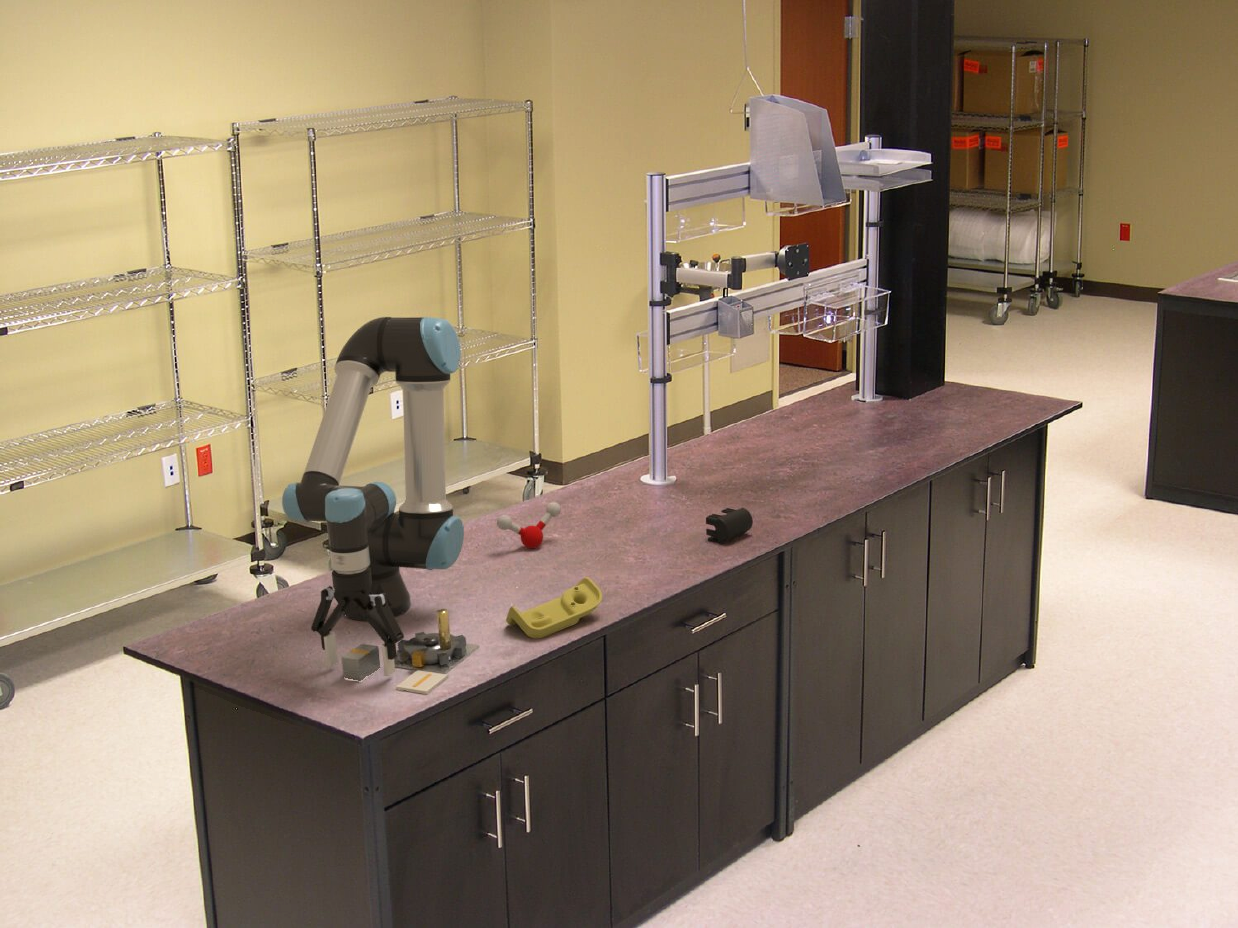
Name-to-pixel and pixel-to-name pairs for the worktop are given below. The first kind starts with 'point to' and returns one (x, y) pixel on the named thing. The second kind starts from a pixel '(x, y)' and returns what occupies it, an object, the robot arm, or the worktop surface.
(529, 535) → the molecular model
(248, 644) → the worktop surface
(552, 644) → the worktop surface
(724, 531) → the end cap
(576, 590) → the plastic component
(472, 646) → the sprocket base
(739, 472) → the worktop surface
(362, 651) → the link block
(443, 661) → the sprocket
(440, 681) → the marked pad
